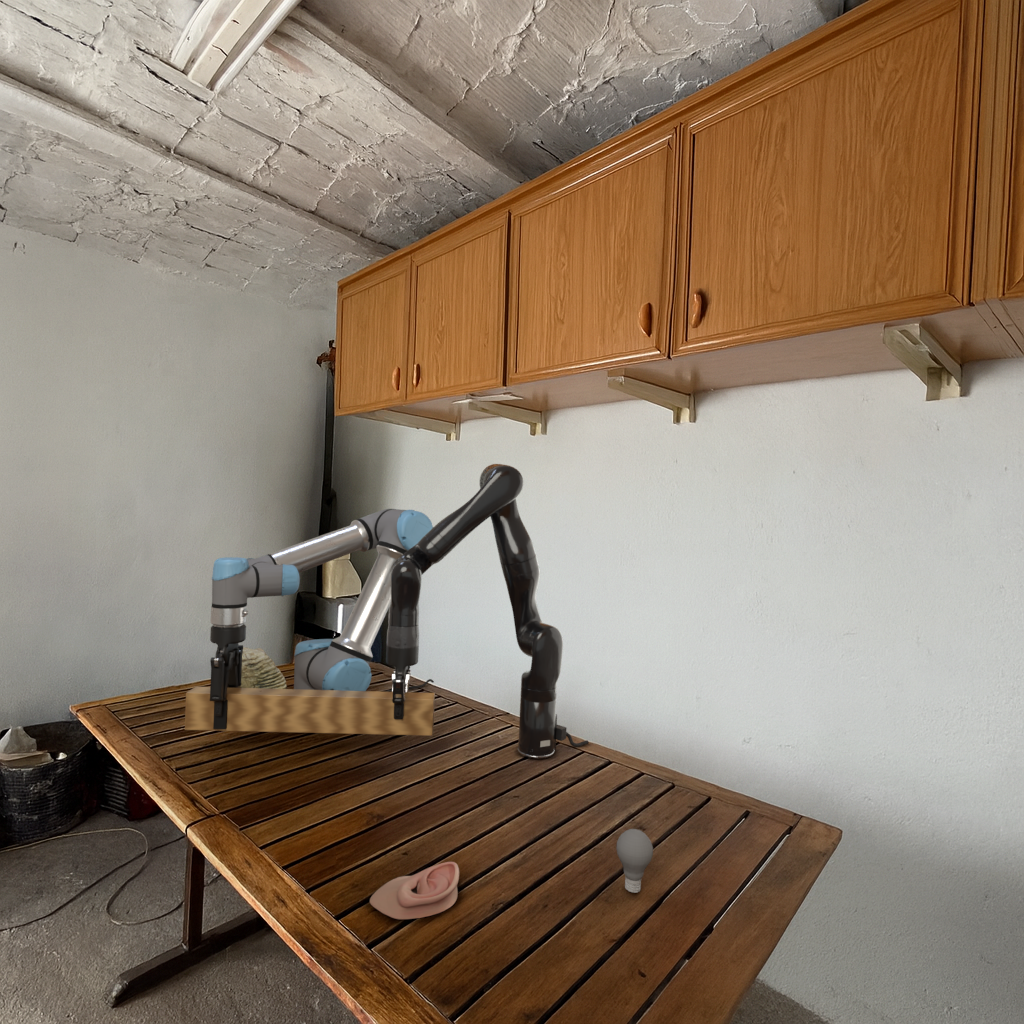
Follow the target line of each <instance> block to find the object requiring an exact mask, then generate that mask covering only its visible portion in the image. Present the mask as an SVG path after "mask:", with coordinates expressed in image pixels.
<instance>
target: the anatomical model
mask: <svg viewBox="0 0 1024 1024" xmlns="http://www.w3.org/2000/svg"><path fill="white" fill-rule="evenodd" d="M459 879H460V868H459V865H458V864H457V863H456V862H455V861H446V862H442V863H438V864H435V865H433V866H430V867H427V868H425V869H423V870H421V871H418V872H417V873H415V874H412V875H402V876H398V877H395V878H393V879H391V880H389V881H387V882H386V883H384V884H383V885H381V886H380V887H379V888H378V889H377V890H376V891H375V892H374V893H372V895H371V897H370V898H369V904H370V905H371V906H372V907H373V908H374V909H375V910H376V911H379V912H380V913H381V914H383V915H385V916H387V917H390V918H392V919H395V920H412V919H420V918H425V917H430V916H434V915H437V914H440V913H442V912H445V911H446V910H448V909H450V908H451V907H452V906H453V905H454V904H455V903H456V901H457V899H458V896H459V895H458V894H459V893H458V892H459V891H458V890H459V889H458V883H459V881H460V880H459Z"/></svg>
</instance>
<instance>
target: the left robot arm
mask: <svg viewBox="0 0 1024 1024" xmlns="http://www.w3.org/2000/svg"><path fill="white" fill-rule="evenodd" d="M433 527H434V526H433V523H432V520H431V519H430V517H429V516H428V515H426V514H425V513H423V512H422V511H418V510H415V509H398V508H385V509H381V510H378V511H376V512H373V513H370V514H368V515H365V516H362V517H359V518H356V519H354V520H352V521H351V523H350V525H348V526H344V527H342V528H338V529H336V530H333V531H330V532H327V533H324V534H321V535H319V536H316V537H313V538H310V539H307V540H305V541H301V542H299V543H298V542H297V543H296V544H293V545H290V546H286V547H284V548H282V549H278V550H276V551H273V552H270V553H267V554H265V555H261V556H259V557H256V558H252V557H248V558H245V557H235V556H234V557H233V556H232V557H231V556H230V557H229V556H228V557H219V558H217V559H215V560H214V562H213V567H212V576H211V606H210V607H211V609H210V624H211V625H212V626H211V627H210V637H209V640H210V643H212V644H215V645H217V648H216V652H215V655H214V657H211V658H210V686H209V687H210V701H214V724H213V729H226V728H227V708H228V700H226V695H227V687H229V688H241V687H238V686H241V676H242V653H243V647H244V645H243V644H240V643H243V642H244V641H246V640H247V639H246V638H247V626H246V624H245V623H246V622H247V615H249V613H250V612H249V610H247V607H248V599H250V598H252V599H253V598H263V597H264V598H265V597H267V598H268V597H284V596H292V595H294V594H296V593H297V591H298V589H299V588H300V583H301V582H300V579H301V577H300V573H302V572H305V571H308V570H311V569H313V568H315V567H318V566H321V565H323V564H327V563H328V562H332V561H334V560H336V559H339V558H343V557H344V556H347V555H350V554H352V553H355V552H358V551H360V552H362V553H365V552H368V551H371V550H375V549H376V551H377V553H378V554H377V557H376V560H375V561H374V563H373V565H372V568H371V570H370V572H369V574H368V576H367V578H366V581H365V582H364V585H363V587H362V589H361V591H360V593H359V596H358V597H357V600H356V602H355V603H354V606H353V608H352V610H351V613H350V615H349V617H348V619H347V621H346V623H345V625H344V627H343V630H342V632H341V634H340V635H339V636H338V637H335V638H319V639H308V640H303V641H300V642H297V644H296V645H295V650H294V655H293V656H294V672H293V689H303V690H340V691H368V688H369V686H370V684H371V681H372V675H373V674H372V672H371V671H372V668H371V666H370V664H371V662H372V660H373V657H374V656H373V653H372V649H371V648H372V646H373V645H374V642H375V639H376V637H377V635H378V633H379V631H380V628H381V626H382V623H383V622H384V619H385V617H386V616H387V612H388V611H389V607H390V603H391V577H390V569H391V566H392V565H393V563H394V562H395V561H396V560H397V559H398V558H399V557H400V556H402V555H403V554H404V553H405V552H407V551H408V550H409V549H411V548H412V547H413V546H415V545H416V544H417V543H418V542H419V541H420V540H421V539H422V538H423V537H424V536H425V535H426V534H427V533H428V532H429V531H430V530H431V529H432V528H433ZM429 682H431V683H435V680H433V679H432V678H429V679H427V680H426V681H425V682H424V683H422V684H420V685H412V686H409V688H408V690H411V689H412V690H413V689H419V688H423V687H425V686H426V685H428V683H429ZM383 692H392V688H391V689H387V690H384V691H383Z"/></svg>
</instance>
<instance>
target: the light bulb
mask: <svg viewBox="0 0 1024 1024" xmlns="http://www.w3.org/2000/svg"><path fill="white" fill-rule="evenodd" d="M615 849H616V854H617V857H618V859H619V861H620V863H621V865H622V867H623V873H624V874H623V875H624V876H625V878H624V888H625V890H627V891H628V892H630V893H634V894H635V893H639V892H640V891H641V889H642V887H641V886H642V879H643V877H644V875H645V871H646V868H647V867H648V866H649V864H650V863H651V861H652V859H653V855H654V847H653V843H652V841H651V838H649V836H648V835H647V834H646V833H645V832H643V831H642V830H641V829H636V828H629V829H627V830H625V831H623V832H622V833H621V834H620V835H619V837H618V839H617V841H616V847H615Z"/></svg>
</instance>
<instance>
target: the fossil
mask: <svg viewBox="0 0 1024 1024" xmlns="http://www.w3.org/2000/svg"><path fill="white" fill-rule="evenodd" d="M238 687H241V688H266V689H287V687H288V686H287V680H286V678H285V676H284V674H283V673H282V672H281V669H279V668H278V667H277V665H276V663H275V662H274V660H273V659H272V658H271V657H270V656H269V655H268V654H267V653H266V652H265V650H264V649H263V648H260V647H258V648H251V647H247V646H246V647H245V646H243V653H242V676H241V686H238Z"/></svg>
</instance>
